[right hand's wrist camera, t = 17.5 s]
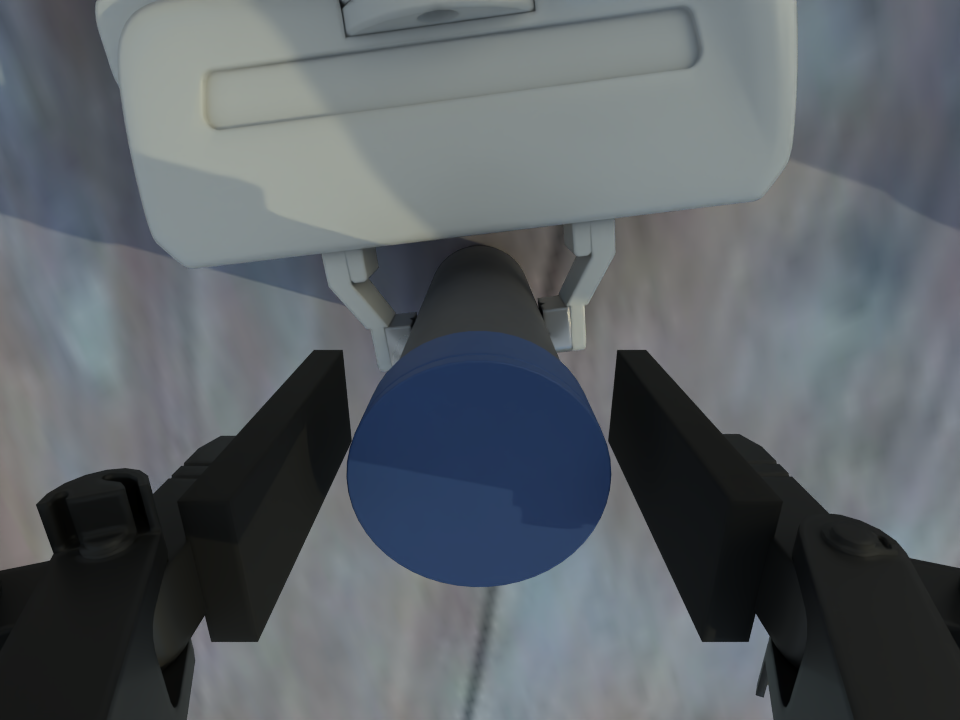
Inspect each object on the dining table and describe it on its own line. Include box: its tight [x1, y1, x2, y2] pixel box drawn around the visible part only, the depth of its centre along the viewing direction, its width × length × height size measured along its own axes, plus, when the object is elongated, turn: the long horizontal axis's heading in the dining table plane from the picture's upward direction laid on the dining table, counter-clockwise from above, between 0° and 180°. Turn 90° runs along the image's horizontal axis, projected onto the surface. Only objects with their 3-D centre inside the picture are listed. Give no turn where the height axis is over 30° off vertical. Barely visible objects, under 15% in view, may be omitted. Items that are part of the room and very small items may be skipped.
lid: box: [347, 331, 611, 587], centre depth 11 cm, size 5×5×2 cm
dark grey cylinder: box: [400, 246, 559, 360], centre depth 18 cm, size 5×5×15 cm
